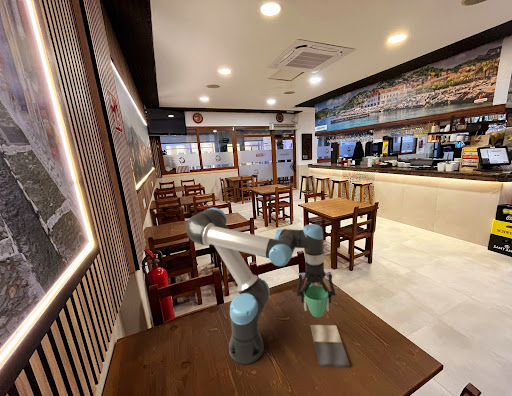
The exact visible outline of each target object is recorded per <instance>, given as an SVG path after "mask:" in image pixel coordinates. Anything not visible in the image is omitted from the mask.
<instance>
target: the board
mask: <svg viewBox="0 0 512 396" xmlns="http://www.w3.org/2000/svg"><path fill="white" fill-rule="evenodd" d="M310 329H311V330H310V331H311V334H312V335H311V336H312V340H313V345H314V350H315V354H316V360H317V366H318V367H327V368H328V367H330V368H351V367H350V365H351V364H350V361H349V359H348V356H347V355H348V354H347V353H346V350H345V347H344V344H343V341H342V339H341V335H340V332H339V330H338V327H337V325H334V324H333V325H332V324H331V325H328V324H325V325H324V324H310Z"/></svg>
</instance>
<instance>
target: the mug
mask: <svg viewBox="0 0 512 396" xmlns="http://www.w3.org/2000/svg"><path fill="white" fill-rule="evenodd" d="M304 295H305V299H306V306H307V308H308V311H309V312H310V314H311V315H312V316H313V317H315V318H321V317H323V315H324V313H325V311H326V305H327V300H328V291H327V293H326V292H325V290H324V288H323V287H322V286H321V285H315V284H314V283H311V285H310V286H309V288H308V290H307V292H306V294H305V291H304Z"/></svg>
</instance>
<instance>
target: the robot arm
mask: <svg viewBox="0 0 512 396" xmlns="http://www.w3.org/2000/svg"><path fill="white" fill-rule="evenodd" d="M227 221H228V219H227V215H226V213H225V212H224V211H223V210H221V209H220V208H218V207H209V208H207V209H205V210H202V211H201V212H198V213H197V214H194V215H192V216H191V217H190V218H189V219H187V222H186V225H185V233H186V235H187V237H188V238H189V240H191V241H192V242H194V243H196V244H198V245H202V246H206V247H208V246H210V245H213V246H214V248H215V250H216V251H217V253H218V254H219V256H220V258H221V259H222V262H223V263H224V265H225V267H226V268H227V270H228V271H229V273H230V274H231V276H232V278H233V280H235V282H236V284H237V288H236V290H237V292H238V295H236V296H235V297H234V298H233V299H232V301H231V302H230V306H229V316H230V326H231V336H230V339H229V345H228V350H229V351H228V353H229V356H230V357H231V359H232V360H233V361H234V362H236V363H238V364H240V365H249V364H252V363H256V361H258V360H259V358H261V357H262V355H263V352H264V341H263V338H262V335H261V333H260V331H259V330H260V329H259V319H260V317H261V314H262V312H263V310H264V309H265V306H266V304H267V303H268V300H269V297H270V294H271V290H270V287H269V284H268V283H267V282H266V281H265V279H262V278H261V277H259V276H258V275H255V274H253V273H252V271H251V269H250V267H249V266H248V264H247V262H246V261H245V259H244V257H243V256H242V254H241V253H240V252H242V253H246V254H249V255H253V256H257V257H262V258H266V259H269V262H271V264H273V265H274V266H277V267H284V266H286V265H288V264H289V262H290V260H291V259H292V257H293V254H294V251H295V249H304V260H305V261H304V264H305V271H304V272H298V282H297V287H296V296H297V297H300V301H301V304H303V308H304V312H307V303H306V299H305V295H304V291H305V294H306V292H307V290H308V288H309V286H310V285H311V283H313V284H315V283H317V284H319V283H320V286H321V287H323V288H324V290H325V292H326V293H327V291H328V300H327V305H326V308H325V310H326V312H329V311H330V310H329V308H330V306H329V305H330V304H331V303H332V298H333V297H335V296H336V291H335V287H334V283H333V275H332V272H331V271H328V272H325V263H324V261H325V260H324V259H325V258H324V231H323V227H322V226H321V225H319V224H315V223H311V224H305V225H304V226H303V229H289V228H288V229H287V228H281V229H280V228H279V229H277V230H276V231H275V234H274V238H271V237H270V238H269V237H266V236H261V235H257V234H253V233H249V232H248V233H247V232H242V231H239V230H234V229H229V227H228V225H227ZM305 277H306V281H305V282H304V285H303V287H302V284H303V279H304V278H305ZM325 277H326V279H327V280H328V283H329V287H330V289H329V288H328V287H327V285H326V282H324V278H325Z"/></svg>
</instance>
